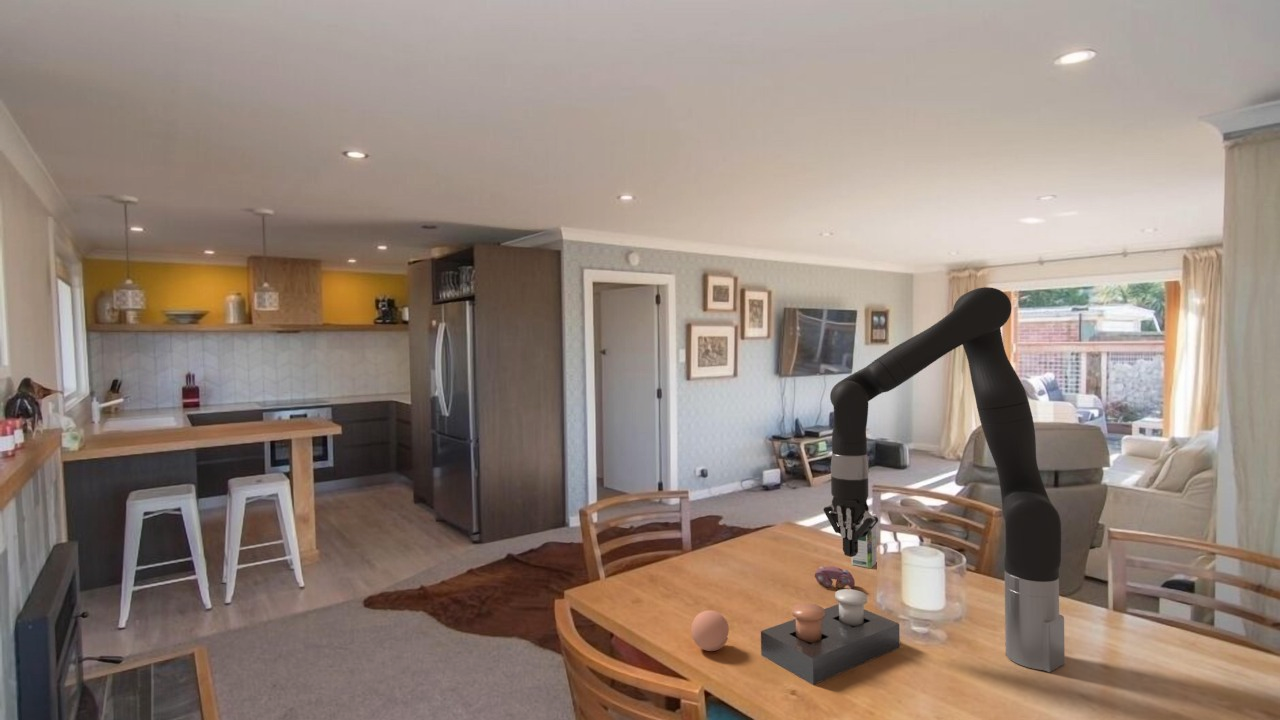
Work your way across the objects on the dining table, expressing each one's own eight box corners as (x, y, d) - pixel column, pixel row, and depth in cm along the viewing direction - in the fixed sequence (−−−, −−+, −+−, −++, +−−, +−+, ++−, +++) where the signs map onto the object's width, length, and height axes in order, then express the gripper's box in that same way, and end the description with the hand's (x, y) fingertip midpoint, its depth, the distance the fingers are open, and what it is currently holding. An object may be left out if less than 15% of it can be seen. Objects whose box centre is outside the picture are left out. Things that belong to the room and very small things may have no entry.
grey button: (873, 622, 133) (873, 596, 133) (853, 630, 129) (853, 603, 129) (849, 612, 138) (848, 586, 138) (829, 619, 135) (828, 593, 135)
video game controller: (815, 590, 167) (812, 571, 164) (818, 578, 170) (815, 558, 167) (853, 597, 162) (851, 577, 159) (856, 583, 166) (853, 564, 163)
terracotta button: (832, 638, 126) (831, 611, 126) (809, 647, 122) (809, 618, 122) (807, 627, 131) (807, 600, 131) (785, 635, 128) (785, 607, 128)
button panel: (899, 647, 131) (899, 623, 131) (813, 684, 118) (812, 658, 117) (845, 623, 143) (845, 601, 143) (761, 655, 129) (760, 631, 129)
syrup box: (851, 565, 181) (850, 515, 181) (857, 559, 186) (856, 510, 186) (871, 569, 178) (870, 518, 178) (877, 563, 183) (876, 513, 182)
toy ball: (735, 646, 133) (734, 609, 133) (719, 661, 127) (718, 623, 127) (702, 637, 138) (701, 601, 138) (684, 652, 131) (684, 614, 131)
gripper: (887, 477, 130) (888, 560, 130) (836, 467, 141) (837, 544, 141) (863, 482, 126) (864, 568, 126) (813, 471, 137) (814, 550, 137)
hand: (850, 555), depth 134 cm, fingers closed
